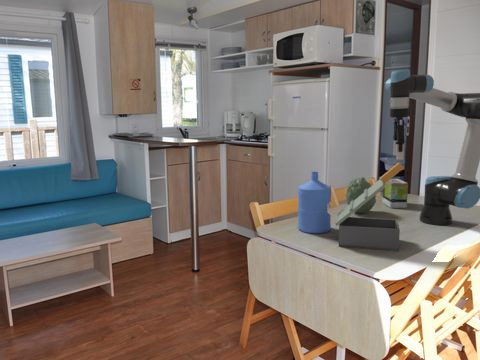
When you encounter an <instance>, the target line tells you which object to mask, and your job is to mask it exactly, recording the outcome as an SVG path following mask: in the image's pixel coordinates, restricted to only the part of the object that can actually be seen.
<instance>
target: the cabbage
mask: <svg viewBox="0 0 480 360" xmlns="http://www.w3.org/2000/svg"><path fill="white" fill-rule="evenodd" d="M371 186H372V184H371V183H370V182H368V181H367V179H366V178H365V177H364V176H363V177H358V178H353V179H350V180H349V182H348V186H347V188H346V192H345V199H346V203H347V206H348V205H349V204H350V202H351V201H352V200H353V201H354V200H355V199H357V198H358V197H359V196H360V195H361V194H363V193H364V190H365V189H366V188H367V189H369V188H370V187H371ZM376 202H377V199H376V195H375V196H374V197H372V198H371V199H370V200H369V201H367V202H366V203H365V204H364V205H362V206H361V207H360V208H359V209H358V210H356V211H355V212H354V213H357V214H365V213H367V212H369V211H371V210H372V209H373V207H375V206H376V205H375V204H376Z"/></svg>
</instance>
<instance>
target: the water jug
mask: <svg viewBox="0 0 480 360" xmlns="http://www.w3.org/2000/svg"><path fill="white" fill-rule="evenodd" d="M310 173H311V180H309V181H307V182H304V183H303V184H300V185H299V186H298V191H297V197H298V198H297V199H298V200H297V201H298V203H297V204H298V205H297V206H298V207H297V212H298V213H297V214H298V215H297V220H298V223H297V229H298V230H299V231H301V232H303V233H307V234H323V233H327V232H329V231H331V228H332V227H331V226H332V225H331V218H332V216H331V214H330V213H329V212H328V205H329V203H330V202H331V200H332V188H331V187H332V186H330V185H328V184H327V183H324V182H321V181H320V180H319V171H311V172H310Z"/></svg>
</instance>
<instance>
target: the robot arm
mask: <svg viewBox="0 0 480 360" xmlns="http://www.w3.org/2000/svg"><path fill="white" fill-rule="evenodd" d="M390 74H391V75H390V78H388V79H387V80H386V82H385V84H384V88H385V89H384V90H385V91H386V93H388V94H389V95H390V99H389V100H388V103H389V104H390V109H389V117H390V118H393V120H394V121H393V136H392V138H393V153H392V154H393V156H396V160H397V161H399V160H402V161H403V160H404V155H405V154H404V151H405V146H404V145H405V142H406V141H405V120H404V118H408V117H410V109H409V107H410V99H412V100H415V101H419V102H421V103H425V104H428V105H431V106H434V107H436V108H440V109H441V110H442V112H445V113H449V114H450V115H454V116H457V117H459V118H465V121H466V123H467V126H466V130H465V135H464V138H463V141H462V147H461V151H460V154H459V158H458V163H457V166H456V169H455V173H454V174H453V175H451V176H449V175H435V176H428V177H427V178H426V179H425V184H424V199H423V201H424V203H423V206H422V210H421V212H420V214H419V221H420V222H422V223H424V224H429V225H436V226H437V225H438V226H447V225H450V224H452V223H453V216H452V213H451V209H450V206H453V207H457V208H459V209H461V208H463V209H471V208H473V207H474V206H476V205H477V204H478V202H479V201H480V187H479V186H478V185H479V183H478V182H479V181H478V179H477V174H478V169H479V165H480V92H471V93H470V92H469V93H465V92H464V93H459V92H458V93H457V92H453V91H449V92H446V91H443V90H440V89H437V88H435V87H434V85H435V84H434V82H435V80H434V78H433V76H432V75H430V74H413V75H412V74H411V71H410V70H409V69H404V70H403V69H402V70H401V69H400V70H394V71H392V72H391V73H390Z"/></svg>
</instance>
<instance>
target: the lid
mask: <svg viewBox="0 0 480 360" xmlns="http://www.w3.org/2000/svg"><path fill="white" fill-rule="evenodd" d="M403 169H405V168H404V166H403V165H402V163H400V162H397V163H396V164H395V165H393V166H392V167H391V168H390V169H388V170H387V171H386V172H385V173H384V174H383V175H382V176H380V177H379V179H377V181H376V182H375V183H373V184H371V187H370V188H369V189H367V188H366V189H365V190H364V193H363V194H361V195H360V196H359V197H358V198H357V199H355V200H354V201H353V200H352V201H351V202H350V204H349V205H348V204H347V206H346V207H344V209H342V210H341V211H340V212H338V213H337V217H336V220H335V226H339V224H340V223H342V222H343V221H344V220H345V219H346V218H348V217H351V215H353V214H354V213H356V212H355V211H356V210H358V209H359V208H360V207H361V206H362V205H364V204H365V203H366V202H367V201H369V200H370V199H371V198H372V197H374V196H376V195H377V194H379V193H380V192H381V191H383V188H385V183H386V182H387V181H389V180H390V179H393V177H395V176H396V175H397V174H399V172H401V171H403Z"/></svg>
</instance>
